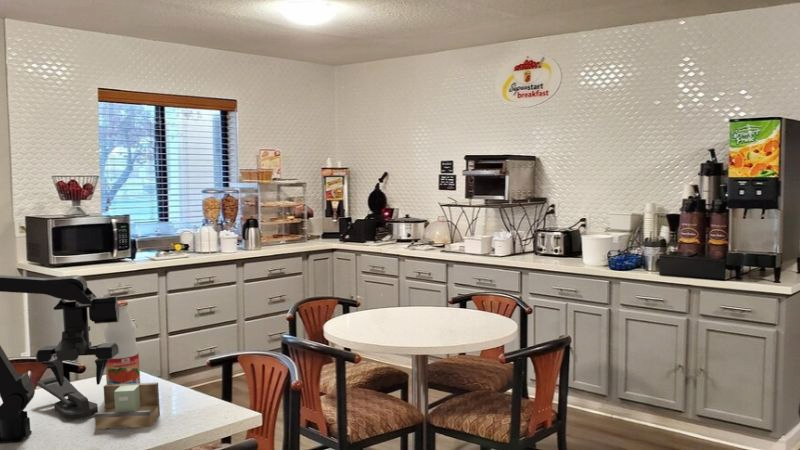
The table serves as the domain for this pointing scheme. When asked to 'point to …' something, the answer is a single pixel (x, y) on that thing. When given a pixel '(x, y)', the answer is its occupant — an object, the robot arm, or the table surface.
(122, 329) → the fruit juice
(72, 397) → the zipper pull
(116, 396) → the cabinet block
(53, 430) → the table surface
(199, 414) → the table surface
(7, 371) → the robot arm
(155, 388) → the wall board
